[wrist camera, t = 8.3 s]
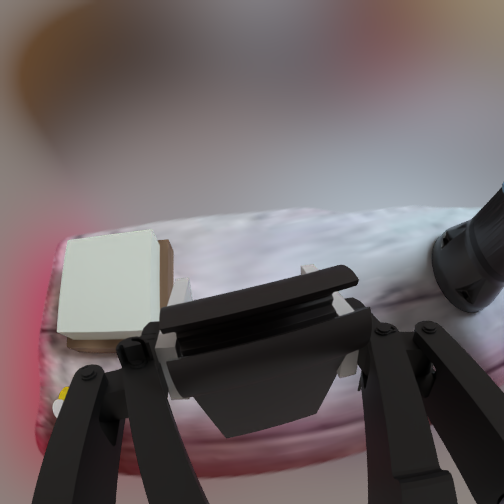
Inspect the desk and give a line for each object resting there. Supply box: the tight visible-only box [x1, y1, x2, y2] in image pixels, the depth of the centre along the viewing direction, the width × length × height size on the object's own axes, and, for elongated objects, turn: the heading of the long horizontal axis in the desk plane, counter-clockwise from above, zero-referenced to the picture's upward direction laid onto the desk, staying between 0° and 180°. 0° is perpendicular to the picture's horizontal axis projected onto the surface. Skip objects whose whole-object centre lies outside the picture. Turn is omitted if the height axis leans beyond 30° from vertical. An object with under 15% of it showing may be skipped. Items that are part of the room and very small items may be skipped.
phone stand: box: [159, 265, 372, 438], centre depth 13 cm, size 9×6×12 cm, turn 15°
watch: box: [53, 387, 69, 418], centre depth 27 cm, size 6×3×6 cm, turn 9°
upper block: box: [57, 229, 160, 340], centre depth 32 cm, size 12×12×4 cm
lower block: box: [67, 240, 173, 353], centre depth 35 cm, size 14×14×4 cm
